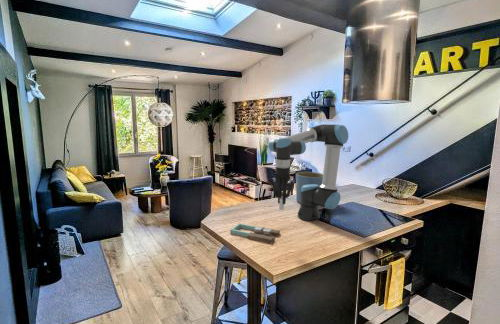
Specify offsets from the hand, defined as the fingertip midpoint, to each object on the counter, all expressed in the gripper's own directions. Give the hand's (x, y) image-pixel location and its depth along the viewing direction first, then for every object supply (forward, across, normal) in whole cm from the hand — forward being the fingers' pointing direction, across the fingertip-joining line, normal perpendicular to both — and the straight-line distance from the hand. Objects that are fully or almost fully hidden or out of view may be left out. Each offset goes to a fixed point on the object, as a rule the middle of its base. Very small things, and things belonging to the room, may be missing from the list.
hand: (281, 209), depth 147 cm
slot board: (+18, -10, 0) cm, 21 cm away
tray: (+18, -23, 0) cm, 29 cm away
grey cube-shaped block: (+17, -14, 0) cm, 22 cm away
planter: (+19, -3, +81) cm, 83 cm away
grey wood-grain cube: (+17, -8, 0) cm, 19 cm away
